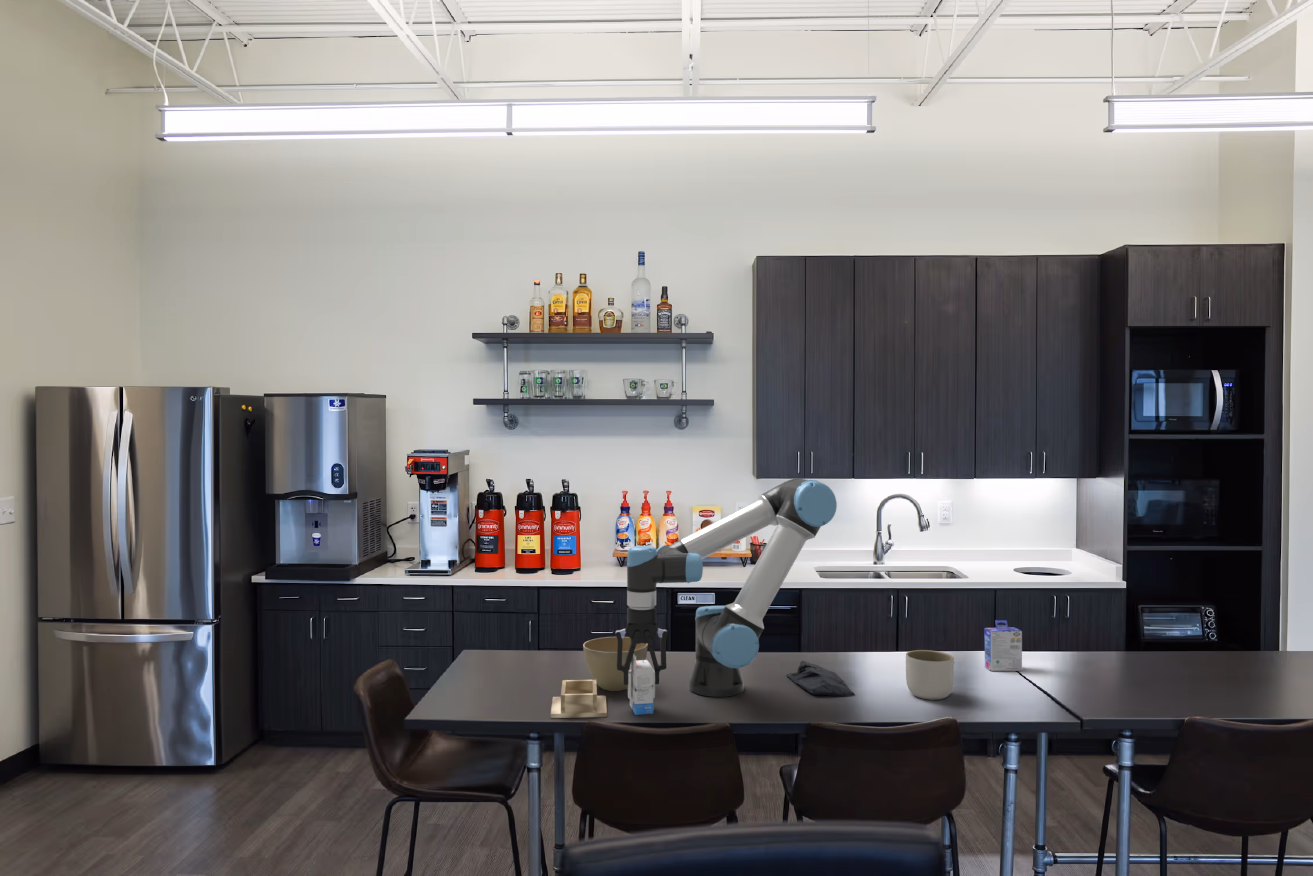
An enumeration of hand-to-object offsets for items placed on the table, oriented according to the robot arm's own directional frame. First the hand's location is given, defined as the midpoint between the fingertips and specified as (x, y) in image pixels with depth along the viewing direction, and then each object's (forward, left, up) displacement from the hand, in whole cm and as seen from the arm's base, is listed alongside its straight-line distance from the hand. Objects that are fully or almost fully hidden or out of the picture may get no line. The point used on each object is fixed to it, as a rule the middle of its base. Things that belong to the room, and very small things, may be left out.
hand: (641, 696), depth 219 cm
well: (+16, -2, -3) cm, 16 cm away
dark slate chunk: (-52, -18, -4) cm, 55 cm away
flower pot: (+6, -20, -4) cm, 21 cm away
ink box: (0, 0, -3) cm, 3 cm away
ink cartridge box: (-112, -30, -4) cm, 116 cm away
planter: (-79, -6, -4) cm, 79 cm away
